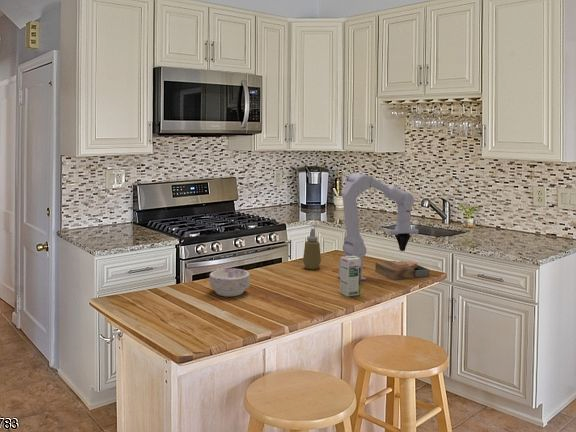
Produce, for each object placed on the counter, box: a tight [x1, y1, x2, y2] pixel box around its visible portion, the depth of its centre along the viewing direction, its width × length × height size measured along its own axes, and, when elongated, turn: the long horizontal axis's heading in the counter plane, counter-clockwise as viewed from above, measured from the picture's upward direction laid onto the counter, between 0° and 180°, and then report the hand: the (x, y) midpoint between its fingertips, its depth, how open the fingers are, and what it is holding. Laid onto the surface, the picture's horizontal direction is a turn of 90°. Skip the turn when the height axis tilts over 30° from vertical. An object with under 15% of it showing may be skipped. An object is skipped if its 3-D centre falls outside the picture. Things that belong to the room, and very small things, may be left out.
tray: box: [404, 261, 430, 279], centre depth 252 cm, size 7×15×3 cm, turn 21°
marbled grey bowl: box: [209, 268, 251, 297], centre depth 218 cm, size 15×15×8 cm
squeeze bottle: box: [302, 228, 322, 270], centre depth 257 cm, size 8×8×18 cm
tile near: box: [392, 260, 409, 269], centre depth 246 cm, size 5×5×2 cm
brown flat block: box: [375, 260, 415, 281], centre depth 248 cm, size 10×15×4 cm, turn 21°
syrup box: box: [339, 256, 362, 298], centre depth 218 cm, size 6×6×14 cm
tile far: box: [406, 260, 418, 269], centre depth 255 cm, size 5×5×2 cm
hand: (402, 250), depth 251 cm, fingers closed
